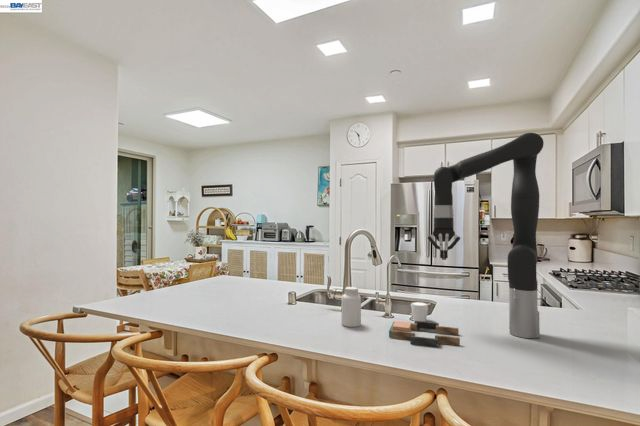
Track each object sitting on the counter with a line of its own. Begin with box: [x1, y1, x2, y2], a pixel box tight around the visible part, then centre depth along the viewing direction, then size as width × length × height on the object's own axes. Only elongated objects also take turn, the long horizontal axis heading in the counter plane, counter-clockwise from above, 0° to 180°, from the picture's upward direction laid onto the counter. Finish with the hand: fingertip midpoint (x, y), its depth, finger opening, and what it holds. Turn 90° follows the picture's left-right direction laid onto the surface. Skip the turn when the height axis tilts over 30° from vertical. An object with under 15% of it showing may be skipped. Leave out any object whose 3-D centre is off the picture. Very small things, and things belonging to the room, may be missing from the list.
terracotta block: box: [392, 320, 412, 332], centre depth 130 cm, size 6×7×4 cm
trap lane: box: [388, 321, 461, 348], centre depth 127 cm, size 24×20×2 cm
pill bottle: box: [341, 286, 362, 328], centre depth 142 cm, size 8×8×15 cm
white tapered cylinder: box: [410, 301, 429, 322], centre depth 148 cm, size 7×7×7 cm
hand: (443, 259), depth 139 cm, fingers closed
